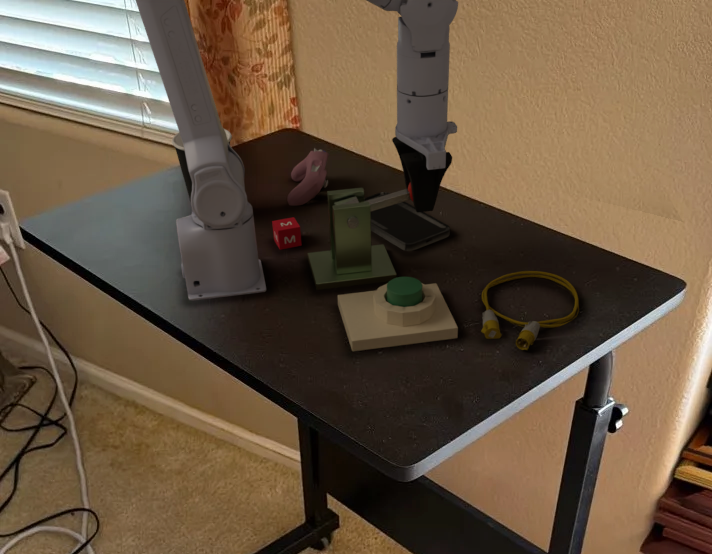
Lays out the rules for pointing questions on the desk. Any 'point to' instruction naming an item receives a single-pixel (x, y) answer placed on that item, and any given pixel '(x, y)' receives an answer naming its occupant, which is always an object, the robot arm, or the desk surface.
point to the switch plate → (395, 319)
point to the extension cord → (530, 327)
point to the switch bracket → (350, 246)
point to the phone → (406, 225)
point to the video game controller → (309, 177)
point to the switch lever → (383, 199)
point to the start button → (404, 291)
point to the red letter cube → (287, 233)
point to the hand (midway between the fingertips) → (420, 203)
